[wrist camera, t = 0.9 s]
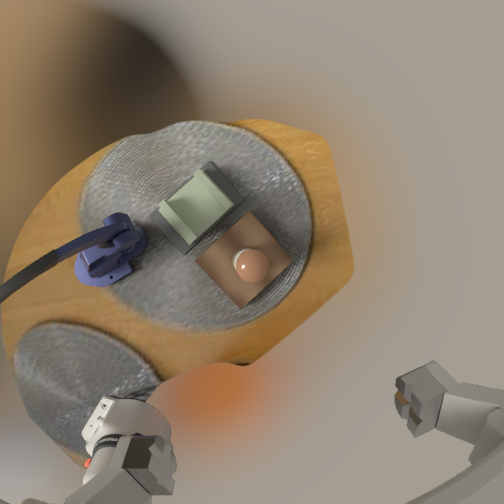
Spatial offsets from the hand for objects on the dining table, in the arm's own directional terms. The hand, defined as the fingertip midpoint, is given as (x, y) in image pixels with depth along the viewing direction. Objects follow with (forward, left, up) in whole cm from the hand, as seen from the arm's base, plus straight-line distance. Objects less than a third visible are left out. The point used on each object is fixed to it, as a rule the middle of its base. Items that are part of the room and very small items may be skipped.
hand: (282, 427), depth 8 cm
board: (+4, -1, -42) cm, 42 cm away
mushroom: (+4, -1, -40) cm, 40 cm away
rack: (+4, +11, -42) cm, 44 cm away
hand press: (-13, +16, -42) cm, 47 cm away
